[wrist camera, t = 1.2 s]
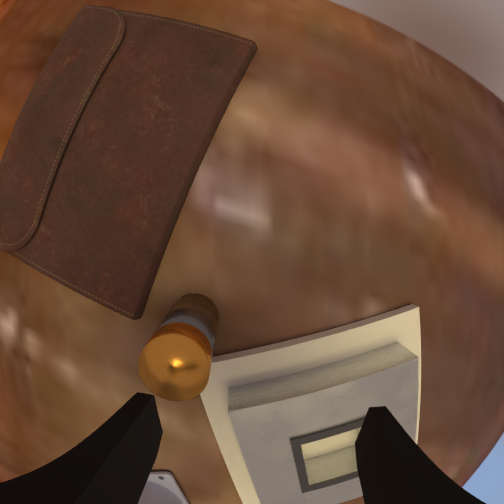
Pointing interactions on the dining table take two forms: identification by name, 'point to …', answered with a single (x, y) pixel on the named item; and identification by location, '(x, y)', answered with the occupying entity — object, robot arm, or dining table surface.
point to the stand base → (294, 360)
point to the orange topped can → (181, 350)
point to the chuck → (319, 422)
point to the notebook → (114, 148)
